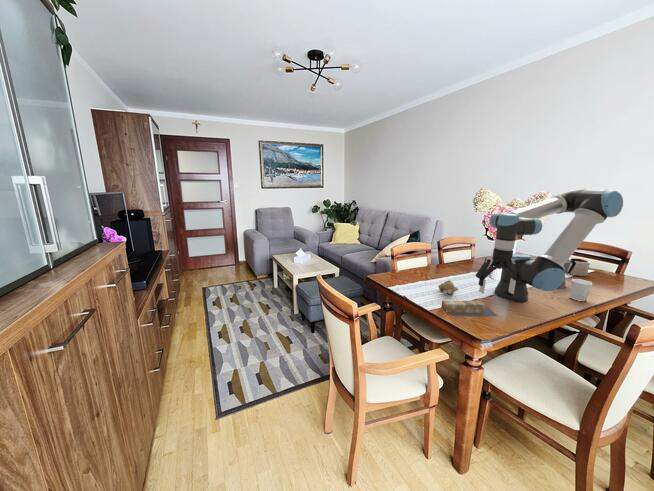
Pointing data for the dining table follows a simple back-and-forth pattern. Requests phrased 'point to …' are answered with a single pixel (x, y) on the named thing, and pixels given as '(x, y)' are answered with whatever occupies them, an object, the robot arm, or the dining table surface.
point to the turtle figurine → (448, 287)
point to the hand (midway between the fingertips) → (496, 292)
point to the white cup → (580, 289)
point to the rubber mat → (475, 313)
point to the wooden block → (463, 306)
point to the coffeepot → (567, 269)
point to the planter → (579, 267)
